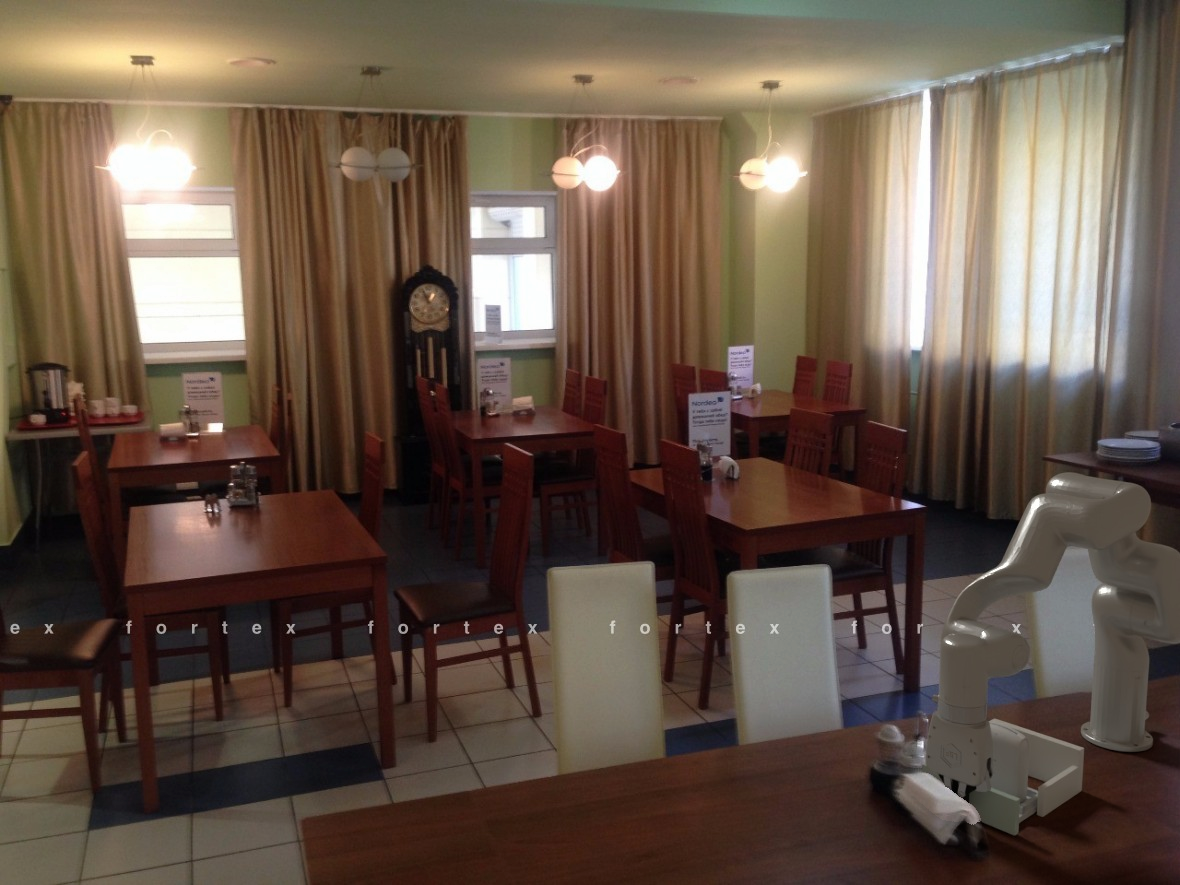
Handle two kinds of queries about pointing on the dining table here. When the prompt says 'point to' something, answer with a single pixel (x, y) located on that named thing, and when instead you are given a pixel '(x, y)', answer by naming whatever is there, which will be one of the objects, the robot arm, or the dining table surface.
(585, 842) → the dining table surface
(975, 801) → the tray
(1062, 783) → the dock
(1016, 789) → the photo printer
